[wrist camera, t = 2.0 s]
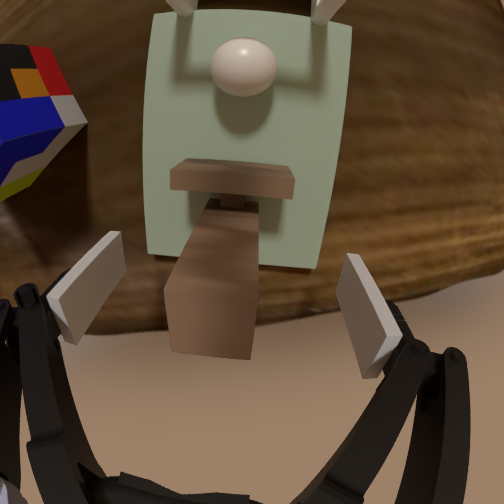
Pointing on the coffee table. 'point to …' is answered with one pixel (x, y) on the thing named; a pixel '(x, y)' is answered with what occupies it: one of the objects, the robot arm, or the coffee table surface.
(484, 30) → the coffee table surface
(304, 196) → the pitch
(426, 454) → the robot arm
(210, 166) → the kicker
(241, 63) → the ball
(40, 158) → the puzzle toy
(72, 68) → the coffee table surface
